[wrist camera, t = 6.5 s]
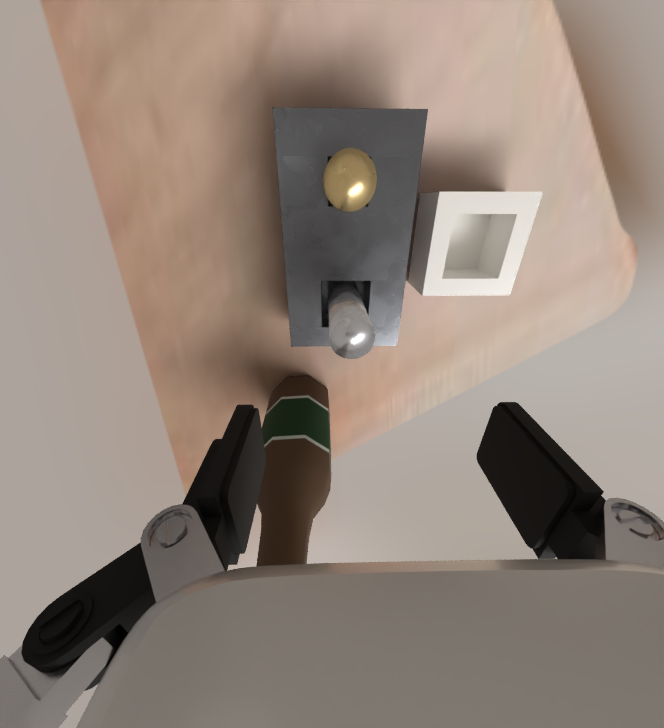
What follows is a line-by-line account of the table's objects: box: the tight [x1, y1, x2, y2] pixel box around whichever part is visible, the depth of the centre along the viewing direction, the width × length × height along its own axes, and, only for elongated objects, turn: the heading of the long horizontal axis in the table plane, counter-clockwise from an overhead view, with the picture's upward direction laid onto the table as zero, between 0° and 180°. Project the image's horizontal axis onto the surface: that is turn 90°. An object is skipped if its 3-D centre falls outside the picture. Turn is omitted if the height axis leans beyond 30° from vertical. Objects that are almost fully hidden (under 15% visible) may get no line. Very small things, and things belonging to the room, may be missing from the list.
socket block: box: [273, 108, 428, 347], centre depth 25 cm, size 17×10×6 cm, turn 0°
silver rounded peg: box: [328, 281, 375, 359], centre depth 24 cm, size 3×3×12 cm
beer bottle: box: [257, 376, 331, 567], centre depth 26 cm, size 8×8×24 cm
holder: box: [408, 192, 543, 296], centre depth 26 cm, size 8×8×5 cm
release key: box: [323, 148, 377, 212], centre depth 22 cm, size 4×4×6 cm
